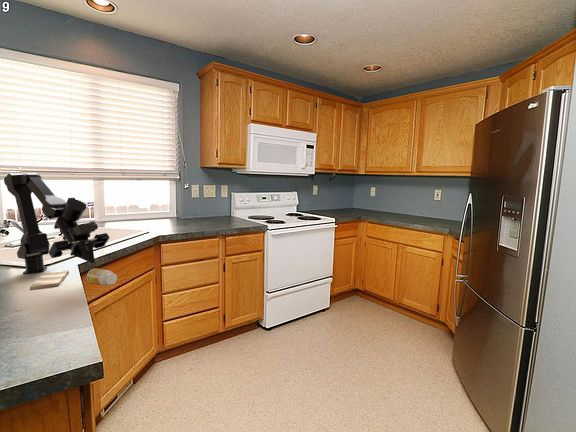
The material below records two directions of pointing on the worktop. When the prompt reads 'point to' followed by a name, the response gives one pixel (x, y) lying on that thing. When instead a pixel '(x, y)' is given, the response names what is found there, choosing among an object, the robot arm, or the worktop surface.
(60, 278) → the beige rectangular board
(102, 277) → the supplement bottle
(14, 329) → the worktop surface
